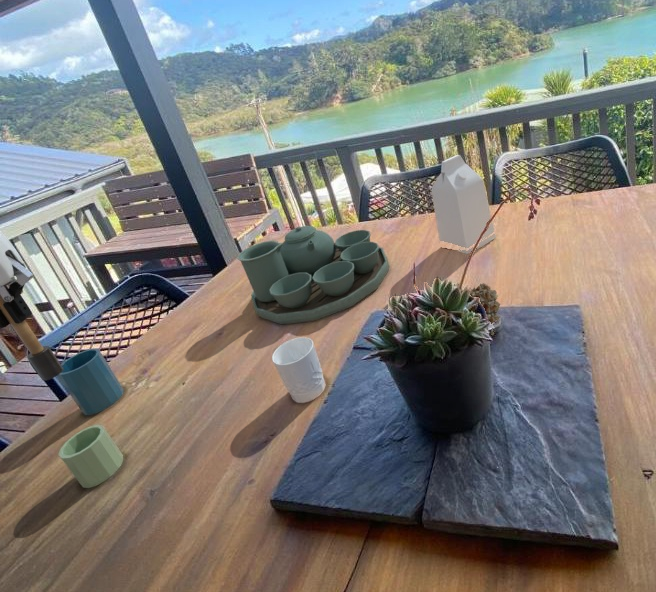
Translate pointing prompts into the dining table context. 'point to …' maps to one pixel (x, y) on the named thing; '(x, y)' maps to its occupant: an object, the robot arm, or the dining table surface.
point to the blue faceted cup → (90, 381)
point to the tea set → (312, 274)
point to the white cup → (299, 369)
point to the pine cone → (487, 301)
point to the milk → (461, 205)
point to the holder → (91, 456)
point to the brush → (35, 348)
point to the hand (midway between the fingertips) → (16, 320)
